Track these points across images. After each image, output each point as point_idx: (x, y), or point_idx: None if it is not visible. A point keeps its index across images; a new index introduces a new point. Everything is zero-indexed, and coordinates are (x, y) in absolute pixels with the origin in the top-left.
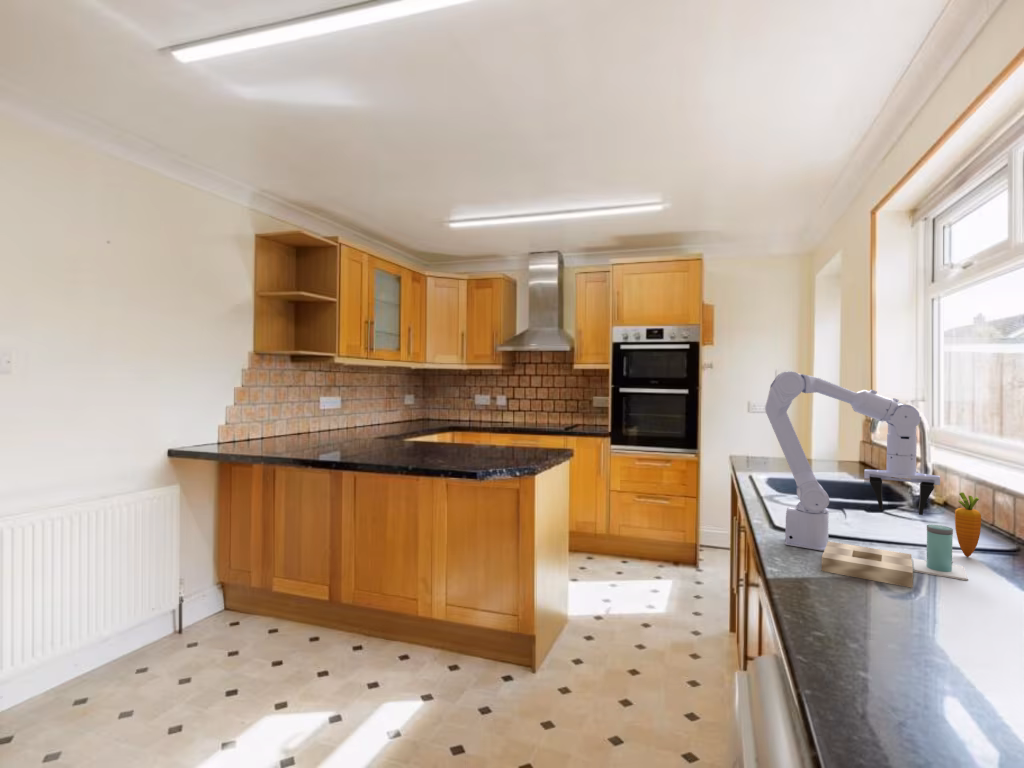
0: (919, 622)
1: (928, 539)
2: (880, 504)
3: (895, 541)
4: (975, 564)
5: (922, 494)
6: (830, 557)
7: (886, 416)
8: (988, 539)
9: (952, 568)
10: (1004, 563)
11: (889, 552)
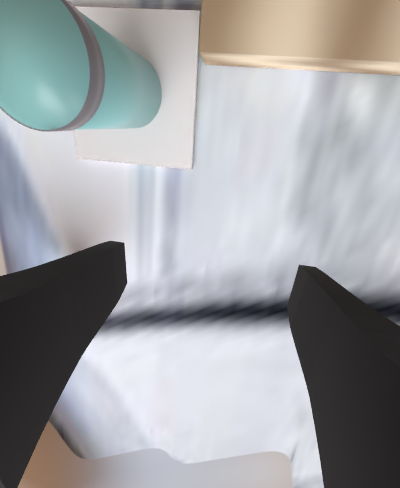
0: None
1: (115, 48)
2: (323, 279)
3: (216, 325)
4: (62, 213)
5: (2, 294)
6: None
7: None
8: (62, 393)
9: None
10: (19, 253)
11: (280, 20)
